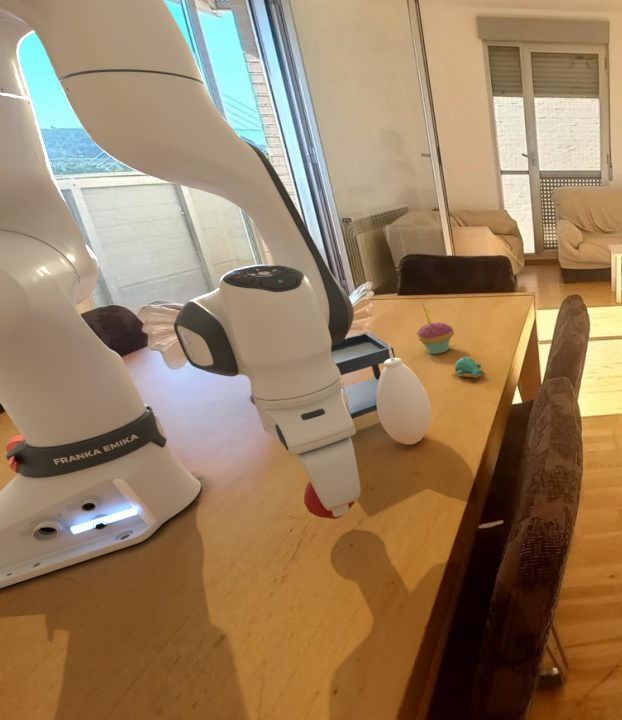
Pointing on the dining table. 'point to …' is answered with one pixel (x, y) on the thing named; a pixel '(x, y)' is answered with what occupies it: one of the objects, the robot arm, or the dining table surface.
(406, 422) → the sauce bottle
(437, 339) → the cupcake
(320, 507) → the onion
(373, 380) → the rack
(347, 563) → the dining table surface
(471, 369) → the teal animal figurine
